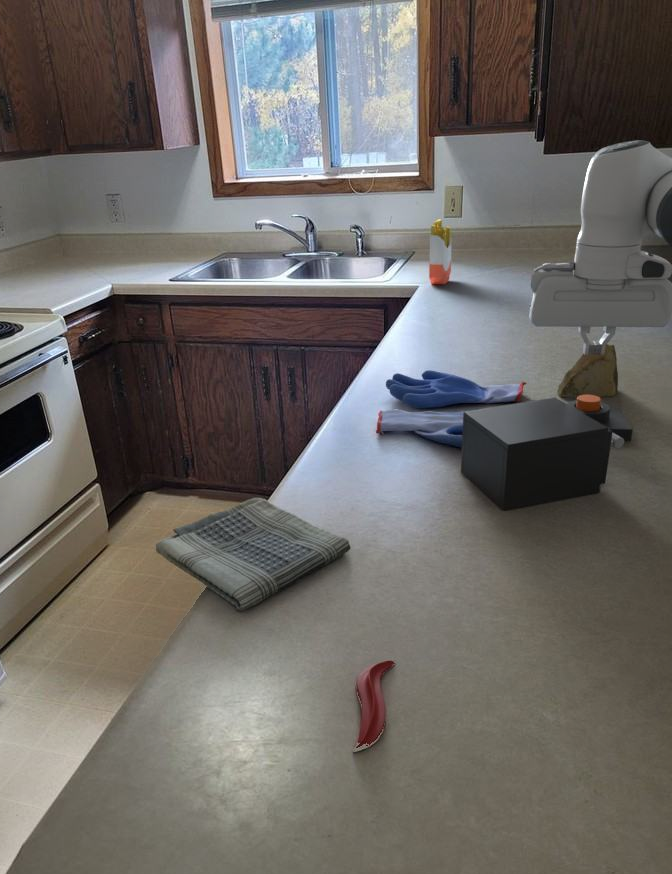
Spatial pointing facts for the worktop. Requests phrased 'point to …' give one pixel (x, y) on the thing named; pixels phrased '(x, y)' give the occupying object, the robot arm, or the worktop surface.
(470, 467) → the matte charcoal box
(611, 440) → the drawer
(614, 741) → the worktop surface
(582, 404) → the button
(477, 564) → the worktop surface
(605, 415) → the push button unit
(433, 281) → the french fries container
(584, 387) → the rock
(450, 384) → the pair of gloves
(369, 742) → the cayenne pepper
